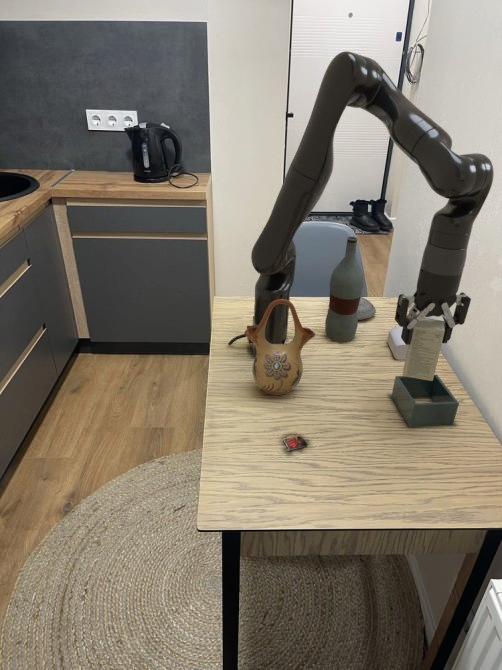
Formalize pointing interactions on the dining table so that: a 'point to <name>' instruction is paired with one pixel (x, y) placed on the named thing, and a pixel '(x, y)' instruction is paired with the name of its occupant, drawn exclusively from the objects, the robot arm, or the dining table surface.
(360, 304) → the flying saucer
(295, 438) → the matchbox
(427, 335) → the cosmetic box
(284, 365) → the ceramic vessel
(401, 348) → the charger
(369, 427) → the dining table surface
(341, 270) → the bottle
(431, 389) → the teal cube shelf
